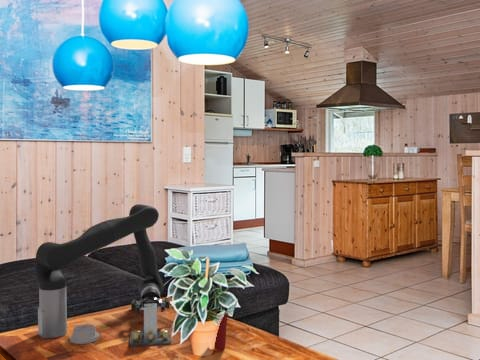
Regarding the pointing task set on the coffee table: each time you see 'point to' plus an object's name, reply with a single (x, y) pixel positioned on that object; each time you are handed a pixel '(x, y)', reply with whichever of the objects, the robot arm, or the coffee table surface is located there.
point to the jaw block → (150, 320)
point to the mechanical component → (84, 334)
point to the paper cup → (221, 334)
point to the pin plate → (145, 342)
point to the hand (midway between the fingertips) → (150, 309)
